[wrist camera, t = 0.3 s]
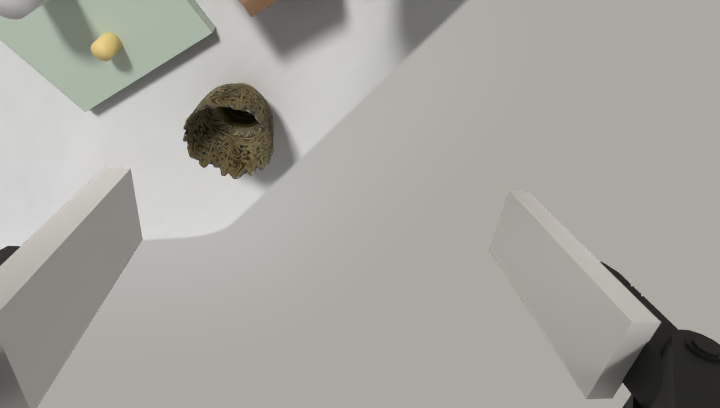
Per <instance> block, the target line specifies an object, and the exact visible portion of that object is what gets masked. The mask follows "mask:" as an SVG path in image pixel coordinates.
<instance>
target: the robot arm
mask: <svg viewBox="0 0 720 408" xmlns="http://www.w3.org/2000/svg"><path fill="white" fill-rule="evenodd" d="M141 241H142V234H141V228H140V222H139V216H138V210H137V204H136V198H135V192H134V186H133V180H132V174H131V169H128V168H110V167H105V168H103V169H102V170H101V171H100V172H99V173H98V174H97V175H96V176H95V177H94V178H93V179H92V180H91V181H90V182H89V183H88V184H87V185H85V186H84V187H83V188H82V189H81V190H80V191H79V192H78V193H77V194H76V195H75V196H74V197H73V198H72V199H71V200H70V201H68V202H67V203H66V204H65V205H64V206H63V207H62V208H61V209H60V210H59V211H58V212H57V213H56V214H55V215H54V216H53V217H52V218H50V219H49V220H48V221H47V222H46V223H45V224H44V225H43V226H42V227H41V228H40V229H39V230H38V231H37V232H36V233H35V234H33V235H32V236H31V237H30V238H29V239H28V240H27V241H26V242H25V243H24V244H23V245H22V246H7V247H5V248H3V249H1V250H0V408H37V407H38V405H39V404H40V402H41V400H42V399H43V397H44V396H45V394H46V392H47V391H48V389H49V387H50V386H51V384H52V383H53V381H54V380H55V378H56V376H57V375H58V373H59V372H60V370H61V369H62V367H63V365H64V364H65V362H66V361H67V359H68V357H69V356H70V354H71V353H72V351H73V349H74V348H75V346H76V345H77V343H78V341H79V340H80V338H81V337H82V335H83V333H84V332H85V330H86V329H87V327H88V326H89V324H90V322H91V321H92V319H93V317H94V316H95V314H96V313H97V311H98V310H99V308H100V306H101V305H102V303H103V301H104V300H105V298H106V297H107V295H108V294H109V292H110V290H111V289H112V287H113V286H114V284H115V282H116V281H117V279H118V278H119V276H120V274H121V273H122V271H123V270H124V268H125V267H126V265H127V263H128V262H129V260H130V259H131V257H132V255H133V254H134V252H135V251H136V249H137V247H138V246H139V244H140V243H141ZM489 251H490V253H491V254H492V256H493V257H494V259H495V260H496V262H497V263H498V265H499V267H500V268H501V270H502V271H503V273H504V274H505V276H506V277H507V279H508V280H509V282H510V283H511V285H512V286H513V288H514V289H515V291H516V292H517V294H518V295H519V297H520V299H521V300H522V302H523V303H524V305H525V306H526V308H527V309H528V311H529V312H530V314H531V315H532V317H533V318H534V320H535V321H536V323H537V324H538V326H539V327H540V329H541V331H542V332H543V334H544V335H545V336H546V338H547V339H548V341H549V343H550V344H551V346H552V347H553V349H554V350H555V352H556V353H557V355H558V356H559V358H560V359H561V361H562V362H563V364H564V365H565V367H566V368H567V370H568V371H569V373H570V375H571V376H572V378H573V379H574V381H575V382H576V384H577V385H578V387H579V388H580V390H581V391H582V393H583V394H584V396H585V398H586V399H601V398H613V396H614V395H615V393H616V392H617V390H618V389H619V387H620V386H621V384H622V383H624V385H625V386H626V387H627V388H628V390H629V391H630V392H631V396H630V397H629V399H628V400H627V402H626V403H625V405H624V406H623V408H720V345H719V344H718V343H717V342H715V341H714V340H712V339H710V338H708V337H706V336H704V335H702V334H699V333H696V332H693V331H689V330H678V329H677V328H676V327H675V326H674V325H673V324H672V323H671V322H670V321H669V320H667V318H665V317H664V316H663V315H662V314H661V313H660V312H659V311H658V310H657V309H656V308H655V307H654V306H653V305H652V304H651V303H650V302H649V301H648V300H647V299H646V298H645V297H644V296H641V293H639V292H638V291H637V290H636V289H635V288H634V287H631V284H630V283H629V282H628V281H627V280H626V279H625V278H624V277H623V276H622V275H621V274H619V272H617V271H615V270H614V269H612V268H610V267H609V266H608V265H606V264H604V263H603V262H599V261H598V260H597V259H596V258H595V257H594V256H593V255H592V254H591V253H590V252H589V251H588V250H587V249H586V248H585V247H584V246H583V245H582V244H581V243H580V242H579V241H578V240H577V239H576V238H575V237H574V236H573V235H572V234H571V233H570V232H569V231H568V230H567V229H566V228H565V227H564V226H562V224H561V223H560V222H559V221H558V220H556V218H554V217H553V215H551V214H550V213H549V212H548V211H547V210H546V209H545V208H544V207H543V206H542V205H541V204H540V203H539V202H538V201H537V200H536V199H535V198H534V197H533V196H532V195H531V194H530V193H529V192H528V191H513V190H509V191H508V194H507V197H506V201H505V204H504V207H503V210H502V213H501V216H500V219H499V222H498V225H497V228H496V231H495V234H494V237H493V240H492V243H491V246H490V250H489Z"/></svg>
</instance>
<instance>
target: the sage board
mask: <svg viewBox="0 0 720 408" xmlns="http://www.w3.org/2000/svg"><path fill="white" fill-rule="evenodd" d="M214 29H215V26H214V25H213V23H212V22H211V21H210V20H209V18H208V17H207V16H206V14H205V13H204V12H203V10H202V9H201V8H200V7H199V5H198V4H197V3H196V1H195V0H0V40H1V41H2V42H4V43H5V44H6V45H7V46H8V47H9V48H11V49H12V50H13V51H14V52H15V53H16V54H18V55H19V56H20V57H21V58H22V59H23V60H25V61H26V62H27V63H28V64H29V65H31V66H32V67H33V68H34V69H35V70H36V71H38V72H39V73H40V74H41V75H42V76H43V77H45V78H46V79H47V80H48V81H49V82H50V83H52V84H53V85H54V86H55V87H56V88H58V89H59V90H60V91H61V92H62V93H63V94H65V95H66V96H67V97H68V98H69V99H70V100H72V101H73V102H74V103H75V104H76V105H77V106H79V107H80V108H81V109H82V110H83V111H85V112H86V111H88V110H90V109H91V108H93V107H94V106H96V105H98V104H99V103H101V102H102V101H104V100H106V99H107V98H109V97H110V96H112V95H114V94H115V93H117V92H118V91H120V90H122V89H123V88H125V87H126V86H128V85H130V84H131V83H133V82H134V81H136V80H138V79H139V78H141V77H142V76H144V75H146V74H147V73H149V72H150V71H152V70H154V69H155V68H157V67H158V66H160V65H162V64H163V63H165V62H166V61H168V60H170V59H171V58H173V57H175V56H176V55H178V54H179V53H181V52H183V51H184V50H186V49H187V48H189V47H191V46H192V45H194V44H195V43H197V42H199V41H200V40H202V39H203V38H205V37H207V36H208V35H210V34H211V33H213V31H214Z"/></svg>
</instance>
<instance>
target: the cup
mask: <svg viewBox="0 0 720 408" xmlns="http://www.w3.org/2000/svg"><path fill="white" fill-rule="evenodd" d="M184 129H185V130H186V132H185V134H184V138H183V141H187V143H188V146H187V149H188V153H189V156H190V157H191V158H193V159H196V160H199V164H200V165H201V166H202V167H203V168H204V167H207V166H208V165H209V163H211V164H212V165H213V166H214V167H218V168H220V170H221V175H222V176H225V175H227V174H228V173H229V174H230V176H231V177H232V178H233V179H238V178H240V177H241V176H243V175H244V174H245V173H246V172H248V174H249V175H250V176H252V175H253V174H254V173H255V170H256V168H257V167H258V168H259V169H260V170H263V169H264V167H265V165H266V164H269V162H270V159H271V154H273V116H272V112H271V109H270V107H269V105H268V103H267V101H266V100H265V99H264V97H263V96H262V95H261V94H260V93H259V92H258V91H257V90H256V89H255V88H254V87H252V86H251V85H248V84H245V83H237V84H226V85H222V86H219V87H217V88H215V89H214V90H212V91H211V92H210V93H209V94H208V95H207V96H206V97H205V98H204V99H203V100H202V101H201V102H200V104H199V105H198V106H197V107H196V109H195V110H194V111H193V113H192V114H191V115H190V116H189V117H188V118H187V120H186V123H185V125H184Z"/></svg>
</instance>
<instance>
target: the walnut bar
mask: <svg viewBox="0 0 720 408" xmlns="http://www.w3.org/2000/svg"><path fill="white" fill-rule="evenodd" d="M240 1H241V3H242V4H243V6H244V7H245V9H246V10H247V11H248V13H249V14H250V16H251V17H252V16H253V15H255V14H256V13H258V12H260V11H261V10H263V9H265V8H266V7H268V6H269V5H271V4H273V3H274V2H276V1H278V0H240Z"/></svg>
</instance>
